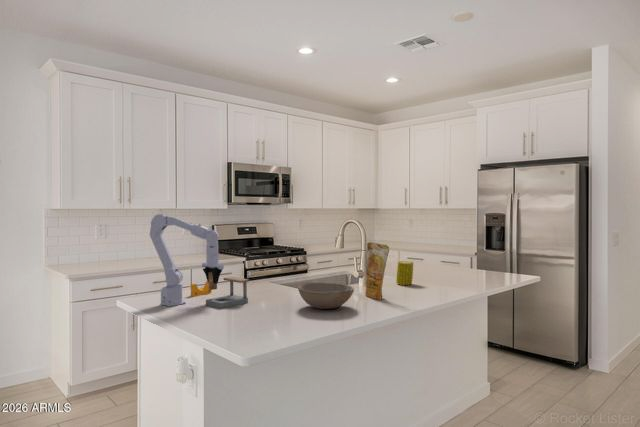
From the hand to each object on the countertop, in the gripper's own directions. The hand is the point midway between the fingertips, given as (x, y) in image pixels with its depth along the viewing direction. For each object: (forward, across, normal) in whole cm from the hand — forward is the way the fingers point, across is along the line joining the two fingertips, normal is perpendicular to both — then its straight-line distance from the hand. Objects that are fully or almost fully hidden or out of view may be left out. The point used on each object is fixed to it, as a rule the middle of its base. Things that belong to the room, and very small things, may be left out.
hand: (212, 282), depth 214 cm
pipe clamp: (+10, +23, -9) cm, 27 cm away
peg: (+3, 0, 0) cm, 3 cm away
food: (+11, -50, -104) cm, 116 cm away
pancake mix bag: (+10, -55, -61) cm, 83 cm away
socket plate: (+10, -7, -3) cm, 13 cm away
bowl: (+10, -50, -26) cm, 57 cm away
